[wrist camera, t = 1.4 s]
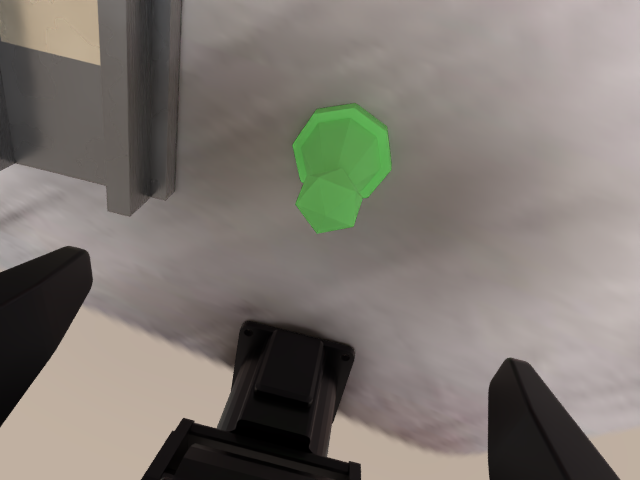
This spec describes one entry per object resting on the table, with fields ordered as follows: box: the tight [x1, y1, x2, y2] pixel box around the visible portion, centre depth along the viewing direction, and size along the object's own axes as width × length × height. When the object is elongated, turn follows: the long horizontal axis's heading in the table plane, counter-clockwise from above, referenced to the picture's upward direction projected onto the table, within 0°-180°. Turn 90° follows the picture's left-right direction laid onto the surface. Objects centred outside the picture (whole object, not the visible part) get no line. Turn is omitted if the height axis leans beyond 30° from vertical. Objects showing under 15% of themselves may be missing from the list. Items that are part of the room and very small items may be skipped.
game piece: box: [292, 103, 391, 234], centre depth 18 cm, size 4×4×6 cm
